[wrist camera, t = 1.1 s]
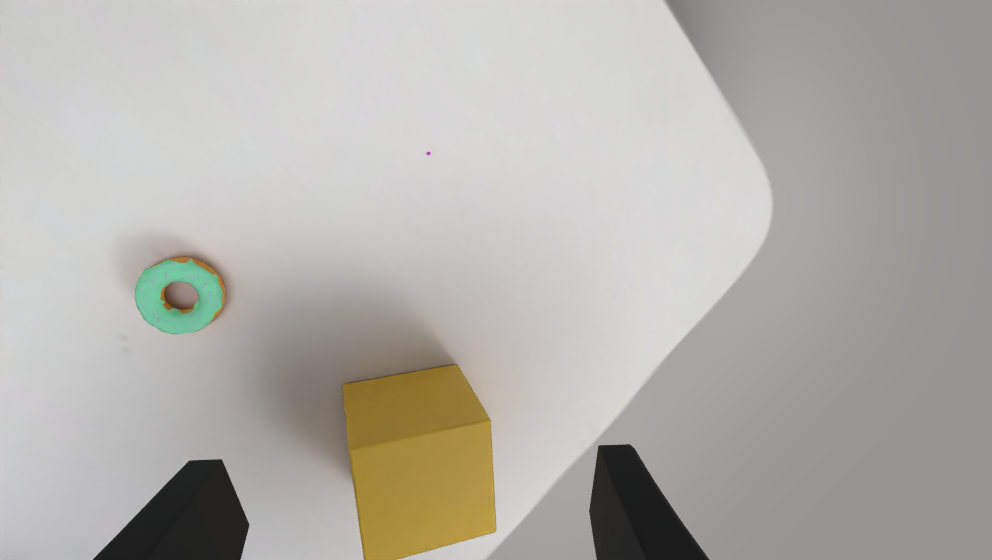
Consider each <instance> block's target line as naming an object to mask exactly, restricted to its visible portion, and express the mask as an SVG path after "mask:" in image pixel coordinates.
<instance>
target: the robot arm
mask: <svg viewBox="0 0 992 560" xmlns="http://www.w3.org/2000/svg"><path fill="white" fill-rule="evenodd" d="M589 512H590V519H591V525H592V532H593V538H594V545H595V551H596V557H597V560H709V559H708V557H707V556H706V554H705V553H704V552H703V550H702V549H701V548H700V546H699V545H698V543H697V542H696V541H695V539H694V538H693V537H692V535H691V534H690V533H689V531H688V530H687V528H686V527H685V526H684V524H683V523H682V521H681V520H680V519H679V517H678V516H677V514H676V513H675V511H674V510H673V508H672V507H671V505H670V504H669V502H668V501H667V499H666V498H665V496H664V495H663V493H662V492H661V491H660V489H659V487H658V486H657V484H656V483H655V481H654V480H653V478H652V476H651V475H650V473H649V472H648V470H647V468H646V467H645V465H644V464H643V462H642V460H641V459H640V457H639V455H638V454H637V452H636V450H635V449H634V448H633V447H632V446H631V445H628V444H627V445H600V446H598V453H597V460H596V467H595V474H594V482H593V489H592V496H591V503H590V510H589ZM248 528H249V523H248V520H247V518H246V516H245V513H244V511H243V509H242V506H241V504H240V501H239V499H238V497H237V494H236V492H235V490H234V487H233V485H232V482H231V480H230V478H229V475H228V473H227V471H226V468H225V466H224V463H223V461H222V459H218V460H191V461H188V462H187V463H186V465H185V466H184V467H183V468H182V469H181V470H180V471H179V472H178V473H177V474H176V475H175V476H174V477H173V478H172V479H171V480H170V481H169V482H168V483H167V484H166V485H165V486H164V487H163V488H162V489H161V490H160V491H159V492H158V493H157V494H156V495H155V496H154V497H153V498H152V499H151V500H150V501H149V502H148V504H147V505H146V506H145V507H144V508H143V509H142V510H141V511H140V512H139V513H138V514H137V515H136V516H135V517H134V518H133V519H132V520H131V521H130V522H129V523H128V524H127V525H126V526H125V527H124V528H123V529H122V530H121V531H120V533H119V534H118V535H117V536H116V537H115V538H114V539H113V540H112V541H111V542H110V543H109V544H108V545H107V546H106V547H105V548H104V549H103V550H102V551H101V552H100V553H99V554H98V555H97V556H96V557H95V558H94V559H93V560H240V559H241V556H242V552H243V548H244V544H245V540H246V536H247V532H248Z"/></svg>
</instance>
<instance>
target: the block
mask: <svg viewBox="0 0 992 560" xmlns="http://www.w3.org/2000/svg"><path fill="white" fill-rule="evenodd" d="M343 397H344V408H345V419H346V429H347V440H348V450H349V457H350V464H351V471H352V478H353V485H354V492H355V499H356V506H357V513H358V520H359V527H360V534H361V541H362V548H363V555H364V560H397V559H400V558H404V557H408V556H411V555H415V554H418V553H422V552H426V551H429V550H433V549H436V548H440V547H444V546H447V545H451V544H454V543H458V542H461V541H465V540H469V539H472V538H476V537H479V536H483V535H487V534H490V533H494V532H496V514H495V495H494V476H493V457H492V438H491V420H490V418H489V417H488V415H487V413H486V412H485V410H484V408H483V407H482V405H481V403H480V402H479V400H478V398H477V397H476V395H475V393H474V391H473V390H472V388H471V386H470V385H469V383H468V381H467V380H466V378H465V376H464V375H463V373H462V371H461V370H460V368H459V366H458V365H456V364H455V365H449V366H444V367H438V368H433V369H427V370H421V371H416V372H410V373H405V374H399V375H393V376H388V377H382V378H377V379H371V380H366V381H360V382H354V383H349V384H344V385H343Z"/></svg>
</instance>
